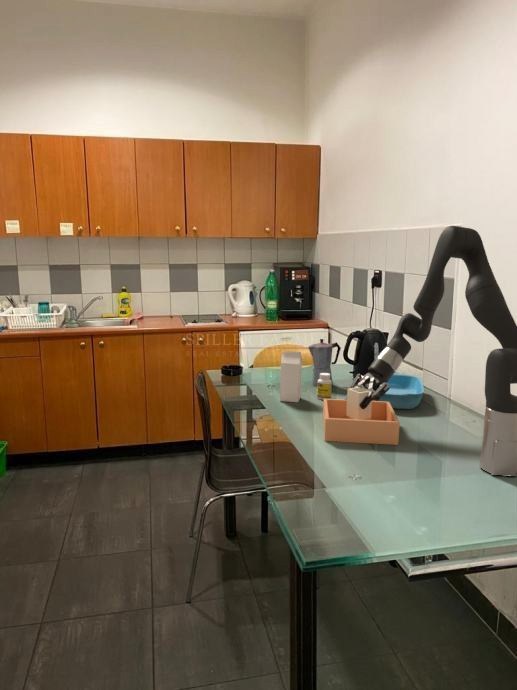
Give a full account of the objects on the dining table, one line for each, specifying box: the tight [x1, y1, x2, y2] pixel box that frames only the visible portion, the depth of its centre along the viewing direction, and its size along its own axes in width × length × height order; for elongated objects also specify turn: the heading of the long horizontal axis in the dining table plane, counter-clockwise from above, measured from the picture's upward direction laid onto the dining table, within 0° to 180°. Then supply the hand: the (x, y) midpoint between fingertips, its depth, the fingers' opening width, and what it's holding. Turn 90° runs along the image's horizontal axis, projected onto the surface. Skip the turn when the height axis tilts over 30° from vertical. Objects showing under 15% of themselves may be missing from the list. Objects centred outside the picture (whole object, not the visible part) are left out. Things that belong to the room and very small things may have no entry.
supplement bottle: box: [316, 373, 333, 401], centre depth 208 cm, size 5×5×10 cm
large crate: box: [322, 398, 401, 446], centre depth 172 cm, size 22×22×7 cm
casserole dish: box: [373, 372, 425, 410], centre depth 209 cm, size 37×22×7 cm, turn 167°
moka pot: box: [307, 338, 341, 387], centre depth 227 cm, size 10×15×20 cm, turn 115°
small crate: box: [346, 386, 373, 420], centre depth 171 cm, size 6×6×9 cm
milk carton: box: [279, 350, 303, 403], centre depth 204 cm, size 7×7×19 cm
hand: (355, 404), depth 170 cm, fingers closed on small crate, 5 cm apart
